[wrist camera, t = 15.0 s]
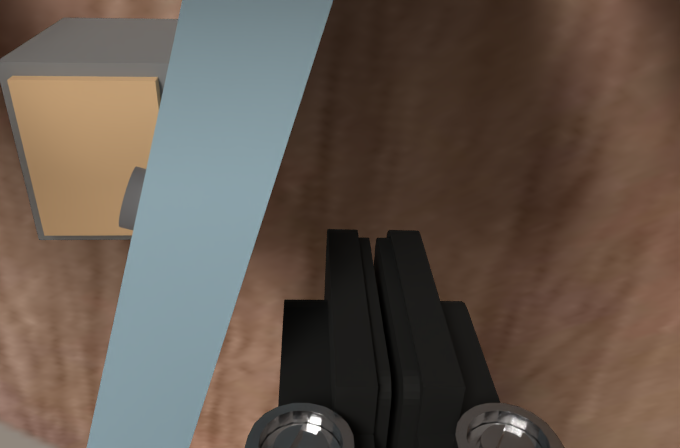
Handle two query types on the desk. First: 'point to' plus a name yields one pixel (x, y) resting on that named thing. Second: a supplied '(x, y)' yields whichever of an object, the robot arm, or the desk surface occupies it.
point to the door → (200, 209)
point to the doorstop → (85, 118)
